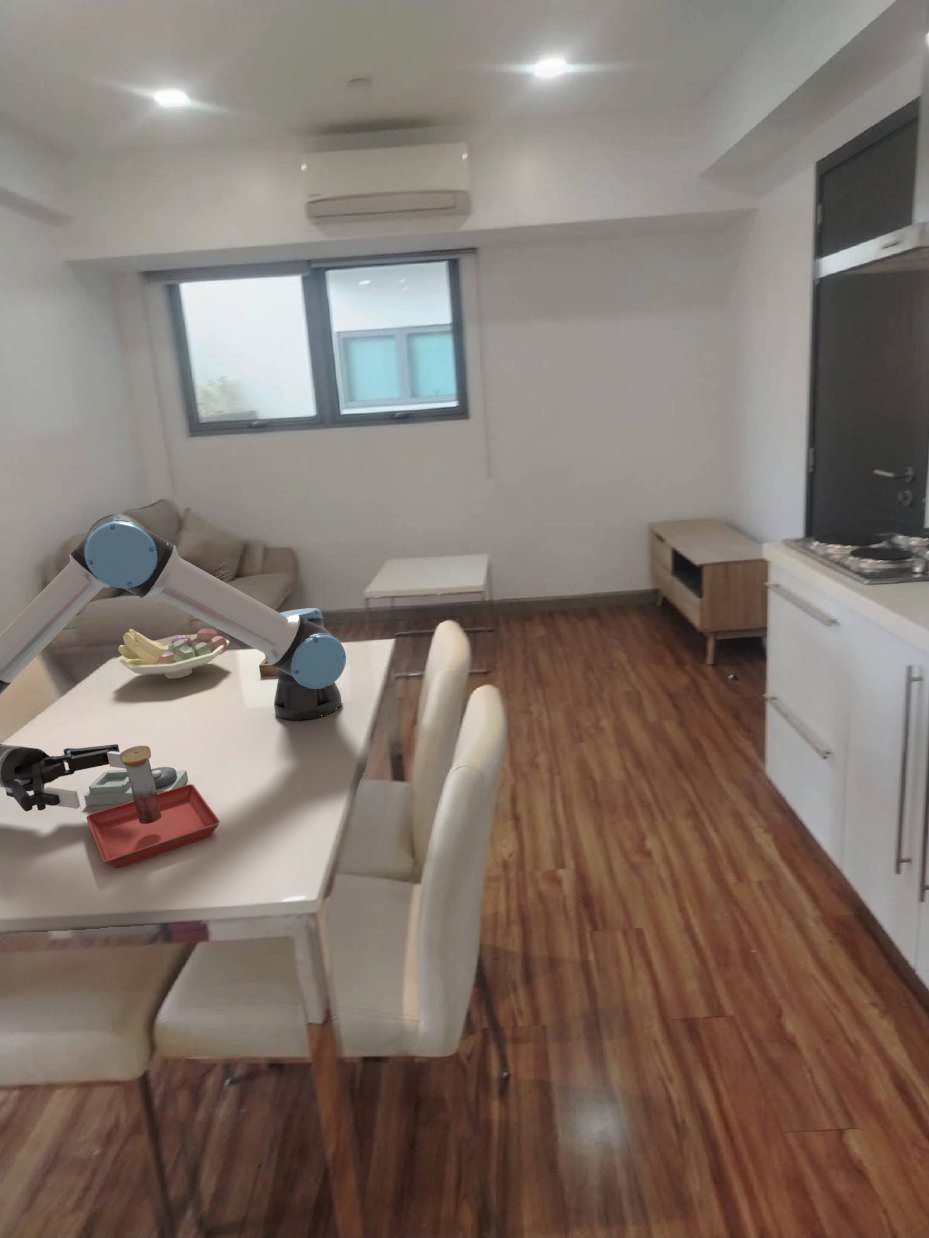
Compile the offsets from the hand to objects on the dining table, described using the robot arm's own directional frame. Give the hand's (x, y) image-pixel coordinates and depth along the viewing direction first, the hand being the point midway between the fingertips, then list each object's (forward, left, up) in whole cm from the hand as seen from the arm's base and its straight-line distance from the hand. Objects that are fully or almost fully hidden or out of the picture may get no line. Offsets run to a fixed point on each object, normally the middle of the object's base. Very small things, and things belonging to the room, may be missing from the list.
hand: (109, 780), depth 133 cm
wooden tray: (-12, -83, -9) cm, 84 cm away
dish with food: (+21, -80, -9) cm, 83 cm away
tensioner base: (+2, -13, -9) cm, 16 cm away
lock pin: (-7, +2, -6) cm, 9 cm away
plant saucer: (-7, +2, -10) cm, 12 cm away
